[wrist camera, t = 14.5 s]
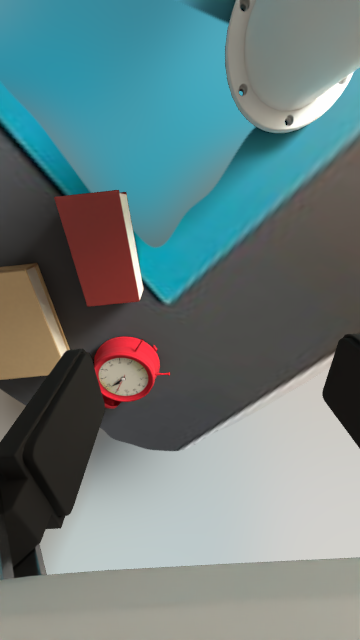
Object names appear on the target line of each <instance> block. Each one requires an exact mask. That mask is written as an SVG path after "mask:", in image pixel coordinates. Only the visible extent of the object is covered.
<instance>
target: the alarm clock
mask: <svg viewBox="0 0 360 640" xmlns="http://www.w3.org/2000/svg"><path fill="white" fill-rule="evenodd" d="M156 351H157V348H156V347H155V346H154V347H151V346H150V345H149V344H147V343H146V342H144V340H143V339H141V340H140V339H137V338H133V337H116V338H113V339H110V340H108V341H106V342H105V343H103V344H102V345H101V346H100V347H99V349H98V350H97V352H96V355H95V358H94V369H95V372H96V376H97V379H98V382H99V386H100V389H101V393H102V396H103V399H104V403H105V407H106V408H115V407H117V406H118V405H119V404H120V403H121V401H122V402H129V401H135V400H138V399H141V398H142V397H144V396H146V395H147V394H148V393H149V392H150V390H151V389H152V387H153V385H154V381H155V378H156V377H157V375H170V373H158V372H159V368H160V362H159V358H158V355H157V353H156Z"/></svg>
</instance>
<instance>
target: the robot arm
mask: <svg viewBox="0 0 360 640" xmlns="http://www.w3.org/2000/svg"><path fill="white" fill-rule="evenodd" d="M241 8H243V9H244V11H245V12H244V11H242V10H241ZM225 67H226V74H227V80H228V85H229V88H230V91H231V95H232V97H233V99H234V101H235V103H236V105H237V107H238V109H239V110H240V112H241V113H242V114H243V116H244V117H245V118H246V119H247V120H248V121H249V122H251V123H252V124H253V125H254V126H256V127H258V128H260V129H262V130H264V131H267V132H272V133H288V132H291V131H295V130H298V129H300V128H302V127H304V126H306V125H308V124H310V123H311V122H313V121H314V120H316V119H317V118H319V117H320V116H321V115H322V114H324V113H325V112H326V111H327V110H328V109H329V108H330V107H331V106H332V105H333V104H334V102H335V101H336V100H337V99H338V97H339V96H340V95H341V94H342V92H343V90H344V89H345V87H346V86H347V84H348V83H349V81H350V79H351V77H352V74H353V72H354V71H355V70H356V69H358V68H359V67H360V0H236V2H235V5H234V8H233V11H232V14H231V18H230V22H229V26H228V30H227V38H226V46H225ZM239 91H242V92H243V96H241V95H240V94H239ZM285 121H287V126H286V125H285ZM323 398H324V400H325V402H326V403H327V405H328V406H329V407H330V409H331V410H332V411H333V413H334V414H335V416H336V417H337V418H338V420H339V421H340V422H341V424H342V425H343V426H344V428H345V429H346V430H347V432H348V433H349V434H350V436H351V437H352V439H353V440H354V441H355V443H356V444H357V445H358V447H359V448H360V334H347V335H345V336H344V337H343V338H342V339H340V340H339V342H338V345H337V348H336V351H335V355H334V358H333V361H332V364H331V367H330V370H329V373H328V376H327V379H326V382H325V386H324V389H323ZM104 412H105V403H104V399H103V396H102V393H101V389H100V386H99V382H98V379H97V376H96V372H95V369H94V365H93V362H92V359H91V355H90V354H89V353H86V352H85V350H83V349H78V350H67V351H66V352H65V353H64V354H63V356H62V357H61V358H60V360H59V361H58V362H57V364H56V365H55V367H54V368H53V369H52V371H51V372H50V374H49V375H48V376H47V378H46V379H45V381H44V382H43V383H42V385H41V386H40V388H39V389H38V390H37V392H36V393H35V395H34V396H33V397H32V399H31V400H30V402H29V403H28V404H27V406H26V407H25V409H24V410H23V411H22V413H21V414H20V415H19V417H18V418H17V420H16V421H15V422H14V424H13V425H12V427H11V428H10V430H9V431H8V432H7V434H6V435H5V436H4V438H3V439H2V441H1V442H0V640H360V558H340V559H320V560H298V561H278V562H257V563H236V564H216V565H199V566H181V567H161V568H142V569H124V570H105V571H92V572H80V573H66V574H54V575H53V574H52V575H47V574H46V570H45V566H44V561H43V557H42V553H41V549H40V545H39V543H40V542H41V539H42V537H43V534H44V531H45V529H55V528H61V527H62V524H63V520H64V518H65V516H67V515H69V514H70V513H71V511H72V509H73V506H74V503H75V500H76V497H77V494H78V491H79V488H80V485H81V482H82V479H83V476H84V473H85V470H86V466H87V464H88V460H89V458H90V455H91V452H92V449H93V446H94V443H95V440H96V436H97V433H98V430H99V427H100V424H101V421H102V418H103V415H104Z"/></svg>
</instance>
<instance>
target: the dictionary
mask: <svg viewBox="0 0 360 640" xmlns="http://www.w3.org/2000/svg"><path fill="white" fill-rule="evenodd" d="M54 198H55V202H56V205H57V208H58V211H59V215H60V218H61V221H62V225H63V228H64V231H65V234H66V238H67V241H68V244H69V248H70V251H71V254H72V257H73V261H74V264H75V267H76V270H77V274H78V277H79V280H80V284H81V287H82V290H83V293H84V297H85V300H86V303H87V306H88V307H89V306H99V305H109V304H118V303H128V302H138V301H140V298H141V295H142V292H143V290H144V289H143V283H142V278H141V272H140V267H139V261H138V255H137V250H136V244H135V239H134V233H133V227H132V222H131V217H130V210H129V205H128V200H127V194H126V192H122V193H119V190H113V191H105V192H97V193H86V194H77V195H68V196H59V197H54Z"/></svg>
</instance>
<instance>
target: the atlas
mask: <svg viewBox="0 0 360 640" xmlns="http://www.w3.org/2000/svg"><path fill="white" fill-rule="evenodd" d="M67 350H70V348H69V346H68V343H67V340H66V338H65V335H64V332H63V330H62V327H61V324H60V322H59V319H58V316H57V314H56V311H55V308H54V306H53V303H52V301H51V298H50V295H49V293H48V290H47V287H46V285H45V282H44V279H43V277H42V274H41V271H40V269H39V266H38V263H32V264H23V265H14V266H4V267H0V380H4V379H14V378H25V377H35V376H45V375H49V374H50V372H51V371H52V369H53V368H54V367H55V365H56V364H57V362H58V361H59V360H60V358H61V357H62V356H63V354H64V353H65V352H66V351H67Z"/></svg>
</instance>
